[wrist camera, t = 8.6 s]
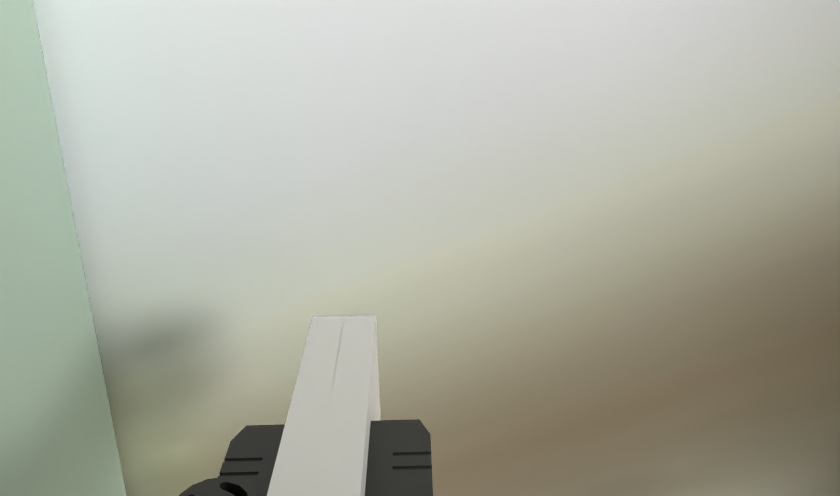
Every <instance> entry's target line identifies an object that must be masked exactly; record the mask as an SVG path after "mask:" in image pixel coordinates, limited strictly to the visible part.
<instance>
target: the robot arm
mask: <svg viewBox="0 0 840 496" xmlns="http://www.w3.org/2000/svg"><path fill="white" fill-rule="evenodd" d="M380 415H381V410H380V389H379V367H378V345H377V324H376V315H351V316H313V317H312V321H311V325H310V329H309V333H308V337H307V340H306V344H305V348H304V352H303V356H302V360H301V364H300V368H299V372H298V376H297V379H296V383H295V387H294V391H293V395H292V399H291V403H290V407H289V411H288V415H287V419H286V422H285V425H252V426H246V427H245V428H244V429H243V430H242V431H241V432H240V433H239V434H238V435H237V436H236V437H235V438H234V439H233V440H232V441H231V442H230V445H229V448H228V451H227V454H226V456H225V462H223V465H222V468H221V470H220V476H218V478H213V479H207V480H205V481H202V482H199V483H197V484H194V485H192V486H191V487H189V488H188V489H187V490H185V491H184V492H182V493H181V494H180V495H179V496H433V488H432V464H431V441H430V433H429V432H428V431H427V429H426V428H425V427H424V425H423V424H422V422H421V421H420V420H383V421H380Z"/></svg>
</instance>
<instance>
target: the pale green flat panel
mask: <svg viewBox="0 0 840 496" xmlns="http://www.w3.org/2000/svg"><path fill="white" fill-rule="evenodd" d="M0 496H127V495H126V490H125V485H124V479H123V474H122V469H121V464H120V458H119V453H118V448H117V443H116V437H115V432H114V427H113V421H112V416H111V411H110V406H109V400H108V395H107V390H106V385H105V379H104V374H103V369H102V363H101V358H100V353H99V348H98V342H97V337H96V332H95V327H94V321H93V316H92V311H91V305H90V300H89V295H88V290H87V284H86V279H85V274H84V269H83V263H82V258H81V253H80V247H79V242H78V237H77V232H76V226H75V221H74V216H73V211H72V205H71V200H70V195H69V189H68V184H67V179H66V174H65V168H64V163H63V158H62V153H61V147H60V142H59V137H58V131H57V126H56V121H55V116H54V110H53V105H52V100H51V95H50V89H49V84H48V79H47V73H46V68H45V63H44V58H43V52H42V47H41V42H40V36H39V31H38V26H37V21H36V15H35V10H34V5H33V0H0Z"/></svg>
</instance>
